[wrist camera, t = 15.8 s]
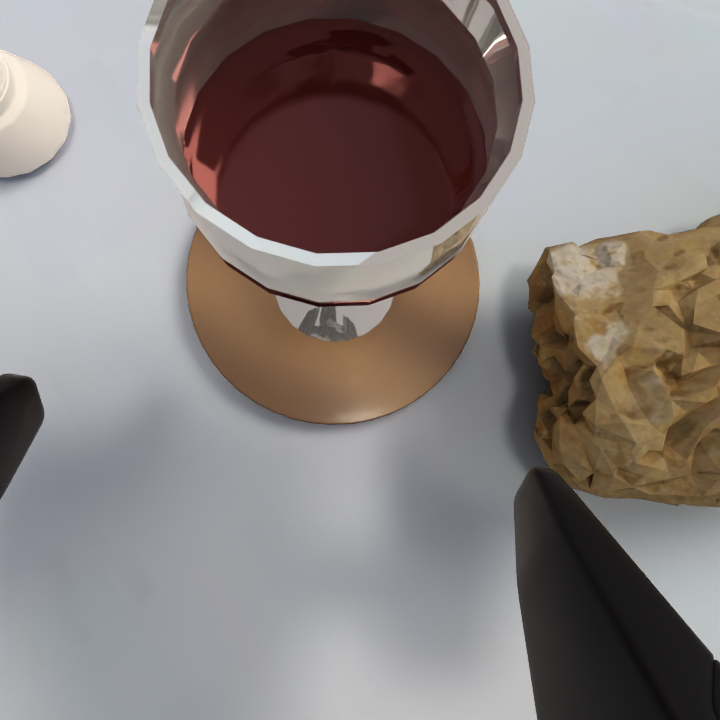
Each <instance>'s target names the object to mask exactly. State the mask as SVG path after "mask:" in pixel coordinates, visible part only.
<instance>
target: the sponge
mask: <svg viewBox="0 0 720 720" xmlns="http://www.w3.org/2000/svg"><path fill="white" fill-rule="evenodd" d="M527 282H528V285H529V301H528V308H529V309H530V310H531V312H532V313H533V314H534V315H535V319H534V323H533V327H532V332H531V337H532V338H533V339H534V341H536V344H535V346H534V349H533V351H532V352H533V354H534V355H535V356H536V358H537V359H538V364H539V365H540V368H541V371H542V374H543V377H544V378H545V379H547V380H548V381H550V387H548V388H547V394H545V393H540V394H539V397H538V401H537V402H538V416H537V420H536V424H535V428H534V439H535V441H536V443H537V445H538V447H539V449H540V450H541V452H542V454H543V458H544V460H545V462H546V463H547V464H548V466H549V467H550V469H552V470H555V471H556V472H558V473H559V474H560V475H561V476H562V478H563V479H564V480H565V481H566V482H567V484H568V485H569V486H570V487H571V488H574V489H578V490H581V491H584V492H587V493H590V494H594V495H597V496H600V497H603V498H619V499H620V498H635V499H644V500H649V501H655V502H660V503H666V504H671V505H677V506H678V505H680V504H686V505H693V506H712V507H720V214H719V215H717V216H714V217H711V218H709V219H707V220H706V221H704V222H703V223H701V224H700V225H699V226H698V227H697V228H696V229H694V230H689V231H685V232H680V233H675V234H670V235H666V234H662V233H657V232H653V231H638V232H633V233H628V234H623V235H618V236H613V237H606V238H600V239H596V240H593V241H591V242H588V243H586V244H584V245H581V246H578V245H576V244H575V243H574V242H570V243H565V244H561V245H556V246H552V247H547V248H545V250H544V252H543V253H542V255H541V257H540V259H539V261H538V263H537V265H536V267H535V269H534V271H533V272H532V274H531V275H530V277H529V278H528V280H527Z"/></svg>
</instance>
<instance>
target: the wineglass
mask: <svg viewBox="0 0 720 720" xmlns="http://www.w3.org/2000/svg"><path fill="white" fill-rule="evenodd" d="M534 104H535V97H534V87H533V78H532V68H531V58H530V48H529V44H528V42H527V40H526V37H525V35H524V33H523V31H522V29H521V26H520V24H519V22H518V20H517V17H516V15H515V13H514V11H513V8H512V6H511V4H510V2H509V0H154V2H153V5H152V8H151V10H150V13H149V16H148V18H147V21H146V24H145V26H144V29H143V31H142V34H141V37H140V39H139V42H138V45H137V96H136V105H137V108H138V111H139V114H140V117H141V119H142V122H143V125H144V128H145V131H146V134H147V137H148V139H149V142H150V145H151V148H152V151H153V154H154V156H155V159H156V162H157V164H158V165H159V166H160V167H161V169H162V170H163V171H164V172H165V174H166V175H167V176H168V177H169V179H170V180H171V181H172V182H173V184H174V185H175V186H176V188H177V189H178V190H179V191H180V193H181V195H182V198H183V201H184V203H185V206H186V209H187V212H188V215H189V217H190V218H191V220H192V221H193V222H194V223H195V225H196V226H197V228H198V229H199V231H200V232H201V233H202V234H203V236H204V237H205V238H206V239H207V241H208V242H209V243H210V244H211V246H212V247H213V248H214V249H215V251H216V252H217V253H218V254H219V256H220V257H221V258H222V260H223V261H224V262H225V263H226V265H227V266H229V267H230V268H232V269H233V270H235V271H236V272H238V273H239V274H241V275H242V276H244V277H245V278H247V279H248V280H250V281H251V282H253V283H255V284H256V285H258V286H259V287H261V288H262V289H264V290H265V291H267V292H268V293H270V294H274V295H275V296H276V299H277V302H278V304H279V307H280V310H281V311H282V313H283V314H284V315H285V316H286V318H287V319H288V320H289V321H290V323H291V324H292V325H293V326H294V327H296V328H297V329H299V330H300V331H302V332H303V333H305V334H306V335H308V336H310V337H313V338H317V339H321V340H324V341H348V340H351V339H353V338H356V337H359V336H362V335H364V334H366V333H367V332H369V331H370V330H371V329H372V328H374V327H375V326H376V325H378V324H379V323H380V322H381V320H382V319H383V317H384V316H385V314H386V313H387V311H388V310H389V308H390V307H391V303H392V299H393V297H394V296H396V295H399V294H402V293H405V292H407V291H410V290H413V289H416V288H417V287H418V286H419V285H421V284H422V283H423V282H425V281H426V280H427V279H428V278H430V277H431V276H432V275H433V274H435V273H436V272H437V271H439V270H440V269H441V268H442V267H444V266H445V265H446V264H448V263H449V262H450V261H451V260H453V258H454V257H455V255H457V254H458V253H459V252H460V251H461V250H462V248H463V247H464V245H465V244H466V242H467V241H468V239H469V238H470V236H471V235H472V233H473V232H474V230H475V229H476V227H477V225H478V224H479V222H480V221H481V219H482V218H483V216H484V215H485V213H486V212H487V210H488V207H489V206H490V205H491V203H492V202H493V200H494V199H495V197H496V196H497V194H498V192H499V191H500V189H501V188H502V186H503V185H504V183H505V182H506V180H507V179H508V177H509V176H510V174H511V173H512V171H513V170H514V168H515V166H516V165H517V163H518V162H519V160H520V159H521V157H522V153H523V149H524V145H525V141H526V137H527V133H528V129H529V124H530V120H531V116H532V112H533V108H534Z"/></svg>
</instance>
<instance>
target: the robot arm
mask: <svg viewBox="0 0 720 720" xmlns="http://www.w3.org/2000/svg"><path fill="white" fill-rule="evenodd" d="M43 419H44V408H43V405H42V402H41V399H40V395H39V392H38V389H37V386H36V383H35V381H34V380H33V379H32V378H30V377H27V376H21V375H16V374H3V375H1V376H0V499H1V497H2V496H3V494H4V492H5V491H6V489H7V487H8V485H9V484H10V482H11V480H12V478H13V476H14V474H15V473H16V471H17V469H18V467H19V465H20V463H21V462H22V460H23V458H24V456H25V454H26V452H27V451H28V449H29V447H30V445H31V443H32V441H33V439H34V438H35V436H36V434H37V432H38V430H39V428H40V427H41V425H42V422H43ZM514 520H515V545H516V571H517V586H518V594H519V602H520V608H521V615H522V622H523V628H524V635H525V641H526V648H527V654H528V661H529V668H530V674H531V681H532V687H533V694H534V701H535V707H536V714H537V720H720V662H719V661H717V660H714V658H713V655H712V653H711V652H710V651H709V650H708V649H707V647H706V646H705V645H704V644H703V643H702V641H701V640H700V639H699V638H698V637H697V636H696V634H695V633H694V632H693V631H692V630H691V628H690V627H689V626H688V625H687V624H686V623H685V621H684V620H683V619H682V618H681V617H680V616H679V614H678V613H677V612H676V611H675V610H674V608H673V607H672V606H671V605H670V604H669V603H668V601H667V600H666V599H665V598H664V597H663V595H662V594H661V593H660V592H659V591H658V590H657V588H656V587H655V586H654V585H653V584H652V583H651V581H650V580H649V579H648V578H647V577H646V575H645V574H644V573H643V572H642V571H641V570H640V568H639V567H638V566H637V565H636V564H635V563H634V561H633V560H632V559H631V558H630V557H629V555H628V554H627V553H626V552H625V551H624V550H623V548H622V547H621V546H620V545H619V544H618V542H617V541H616V540H615V539H614V538H613V537H612V535H611V534H610V533H609V532H608V531H607V530H606V528H605V527H604V526H603V525H602V524H601V522H600V521H599V520H598V519H597V518H596V517H595V515H594V514H593V513H592V512H591V511H590V509H589V508H588V507H587V506H586V505H585V504H584V502H583V501H582V500H581V499H580V498H579V497H578V495H577V494H576V493H575V492H574V491H573V489H572V488H571V487H570V486H569V485H568V484H567V482H566V481H565V480H564V479H563V478H562V476H561V475H560V474H559V473H558V472H556V471H555V470H552V469H547V468H541V467H533V468H531V469H530V471H529V472H528V474H527V476H526V477H525V479H524V481H523V483H522V484H521V486H520V488H519V490H518V491H517V493H516V496H515V500H514Z"/></svg>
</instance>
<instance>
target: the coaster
mask: <svg viewBox="0 0 720 720" xmlns="http://www.w3.org/2000/svg"><path fill="white" fill-rule="evenodd" d="M187 297H188V305H189V311H190V314H191V318H192V321H193V325H194V328H195V331H196V333H197V335H198V337H199V340H200V342H201V344H202V346H203V348H204V350H205V351H206V353H207V355H208V356H209V358H210V359H211V361H212V363H213V364H214V365H215V366H216V368H217V369H218V370H219V371H220V372H221V374H222V375H223V376H224V377H225V378H226V379H227V380H228V381H229V382H230V383H231V384H232V385H233V386H234V387H235V388H236V389H237V390H239V391H240V392H241V393H243V394H244V395H245V396H247V397H248V398H250V399H251V400H252V401H254V402H255V403H257V404H259V405H261V406H263V407H265V408H267V409H269V410H270V411H272V412H275V413H278V414H280V415H283V416H286V417H288V418H291V419H295V420H300V421H304V422H309V423H316V424H328V425H337V424H353V423H359V422H364V421H370V420H373V419H376V418H380V417H383V416H386V415H389V414H391V413H393V412H395V411H398V410H400V409H402V408H404V407H406V406H408V405H409V404H411V403H412V402H414V401H415V400H417V399H419V398H420V397H422V396H423V395H424V394H426V393H427V392H428V391H429V390H430V389H431V388H433V387H434V386H435V385H436V384H437V383H438V382H439V381H440V380H441V379H442V378H443V377H444V375H445V374H446V373H447V372H448V371H449V370H450V369H451V367H452V366H453V364H454V363H455V361H456V360H457V358H458V357H459V355H460V354H461V352H462V350H463V348H464V346H465V344H466V342H467V340H468V338H469V335H470V332H471V329H472V326H473V323H474V320H475V316H476V311H477V306H478V299H479V271H478V262H477V257H476V253H475V248H474V245H473V242H472V239H471V236H470V238H469V239H468V241H467V242H466V244H465V245H464V247H463V248H462V250H461V251H460V252H459V253H458V254H457V255H455V257H454V258H453V260H451V261H450V262H449V263H448V264H446V265H445V266H444V267H442V268H441V269H440V270H439V271H437V272H436V273H435V274H433V275H432V276H431V277H430V278H428V279H427V280H426V281H425V282H423V283H422V284H421V285H419V286H418V287H417V288H416V289H413V290H410V291H407V292H405V293H402V294H399V295H396V296H394V297H393V299H392V303H391V307H390V308H389V310H388V311H387V313H386V314H385V316H384V317H383V319H382V320H381V322H380V323H379V324H378V325H376V326H375V327H374V328H372V329H371V330H370V331H369V332H367V333H366V334H364V335H362V336H359V337H356V338H353V339H351V340H348V341H324V340H321V339H317V338H313V337H310V336H308V335H306V334H305V333H303V332H302V331H300V330H299V329H297V328H296V327H294V326H293V325H292V324H291V323H290V321H289V320H288V319H287V318H286V316H285V315H284V314H283V313H282V311H281V310H280V307H279V304H278V302H277V299H276V296H275V295H274V294H270V293H268V292H267V291H265V290H264V289H262V288H261V287H259V286H258V285H256V284H255V283H253V282H251V281H250V280H248V279H247V278H245V277H244V276H242V275H241V274H239V273H238V272H236V271H235V270H233V269H232V268H230V267H229V266H227V265H226V263H225V262H224V261H223V260H222V258H221V257H220V256H219V254H218V253H217V252H216V251H215V249H214V248H213V247H212V246H211V244H210V243H209V242H208V241H207V239H206V238H205V237H204V236H203V234H202V233H201V232H200V231H199V229H198V228H197V230H196V232H195V235H194V238H193V241H192V245H191V248H190V252H189V258H188V265H187Z"/></svg>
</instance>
